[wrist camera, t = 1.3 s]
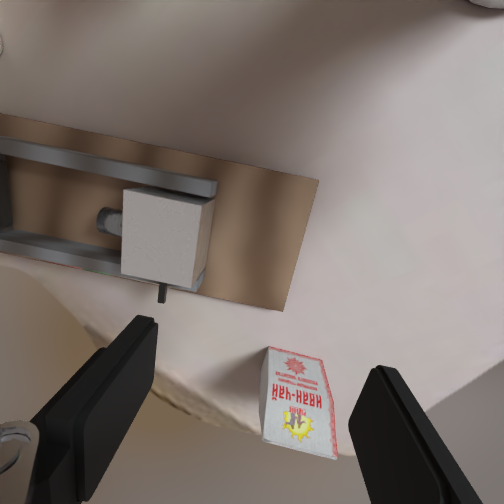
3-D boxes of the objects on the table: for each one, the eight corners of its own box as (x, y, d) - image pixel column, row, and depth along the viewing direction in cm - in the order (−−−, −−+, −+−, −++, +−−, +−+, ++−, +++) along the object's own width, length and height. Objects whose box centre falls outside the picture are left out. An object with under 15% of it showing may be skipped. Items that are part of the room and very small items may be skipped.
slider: (215, 198, 24) (201, 205, 19) (201, 292, 27) (186, 319, 22) (121, 178, 24) (84, 181, 19) (118, 275, 27) (86, 298, 22)
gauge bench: (316, 179, 24) (335, 183, 17) (282, 304, 29) (286, 349, 21) (-20, 109, 24) (-140, 83, 17) (-1, 245, 29) (-90, 270, 22)
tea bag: (312, 382, 32) (329, 472, 22) (260, 369, 32) (256, 454, 22) (321, 359, 31) (345, 445, 21) (268, 346, 31) (268, 425, 21)
